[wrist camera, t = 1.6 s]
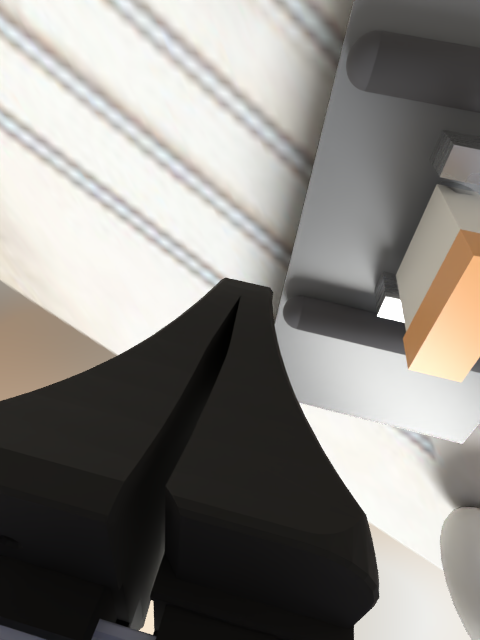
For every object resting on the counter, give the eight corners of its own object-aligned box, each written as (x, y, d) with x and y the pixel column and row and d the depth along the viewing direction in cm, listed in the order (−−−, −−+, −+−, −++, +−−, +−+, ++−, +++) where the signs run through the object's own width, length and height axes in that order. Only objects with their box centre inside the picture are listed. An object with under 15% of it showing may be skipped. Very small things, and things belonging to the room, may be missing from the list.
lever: (477, 184, 14) (542, 270, 10) (429, 277, 17) (461, 382, 12) (432, 174, 14) (473, 255, 10) (391, 269, 17) (408, 369, 12)
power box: (747, 1, 13) (924, -3, 9) (451, 404, 25) (470, 475, 21) (367, -58, 14) (376, -86, 10) (266, 358, 26) (252, 418, 22)
